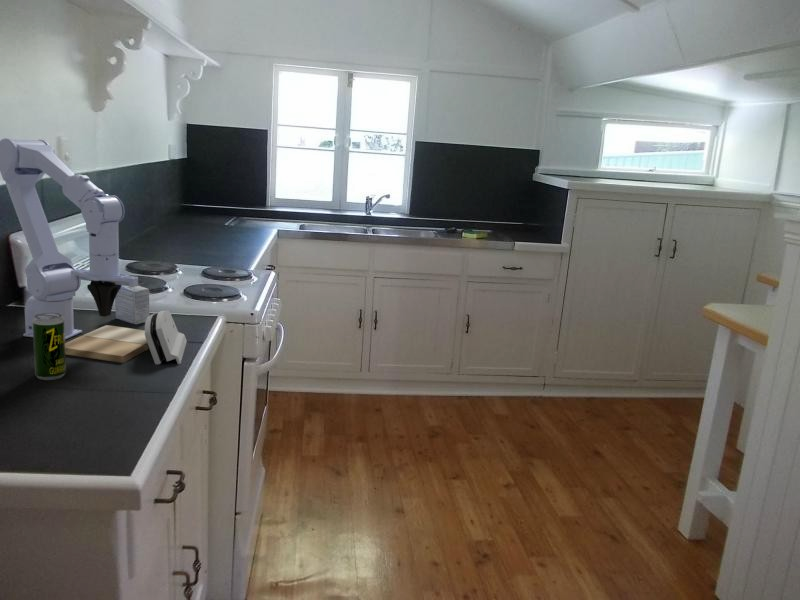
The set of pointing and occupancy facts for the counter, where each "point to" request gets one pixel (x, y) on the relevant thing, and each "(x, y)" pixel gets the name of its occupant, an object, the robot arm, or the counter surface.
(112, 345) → the plank
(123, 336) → the floor board
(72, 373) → the counter surface
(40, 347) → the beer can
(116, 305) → the grey wood grain block
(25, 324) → the robot arm
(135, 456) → the counter surface
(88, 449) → the counter surface
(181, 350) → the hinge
